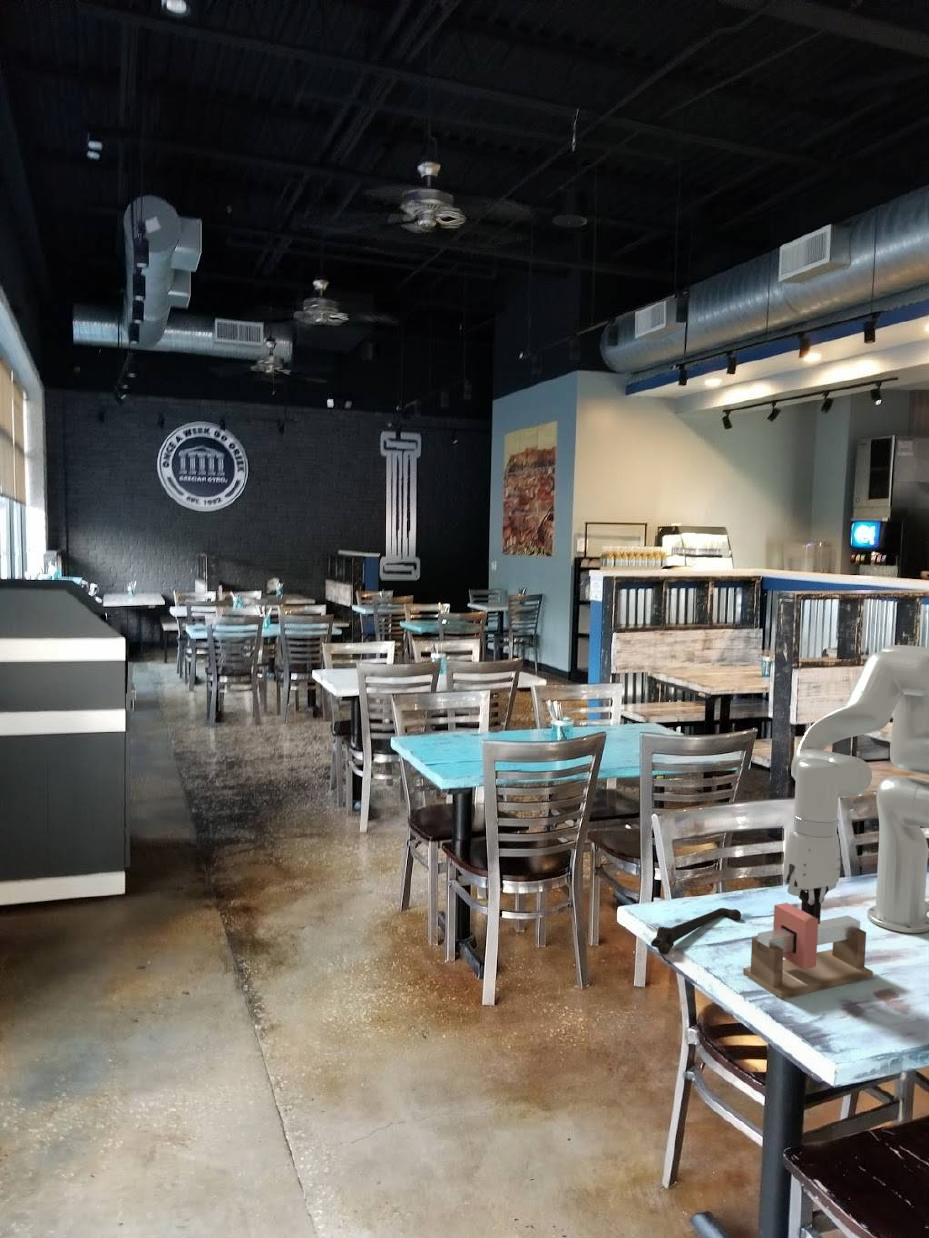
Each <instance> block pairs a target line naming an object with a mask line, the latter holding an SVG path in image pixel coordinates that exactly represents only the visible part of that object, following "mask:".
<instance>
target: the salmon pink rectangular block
mask: <svg viewBox="0 0 929 1238" xmlns="http://www.w3.org/2000/svg"><path fill="white" fill-rule="evenodd" d="M773 905H774V908H773V909H774V910H773V928H772V930H776V929H781V927H783V926H785V927H787V928H789V929H790V930H792V931H794V932H796V933H797V940H796V952H792V951H789V952H784V953H783V959H787V960H788V961H790V962H792V963H793V964H795V965H797V966H798V967H800V968H802V969H807V968H812V967H816V957H817V952H818V945H817V936H818V919H817V918H815V917H814V916H812V915H810V914H808V913H806V912H804V911H802V910H801V908H798V907H796V906H794V905H793V904H790V903H788V902H785V903H784V902H783V903H779V904H773Z"/></svg>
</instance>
